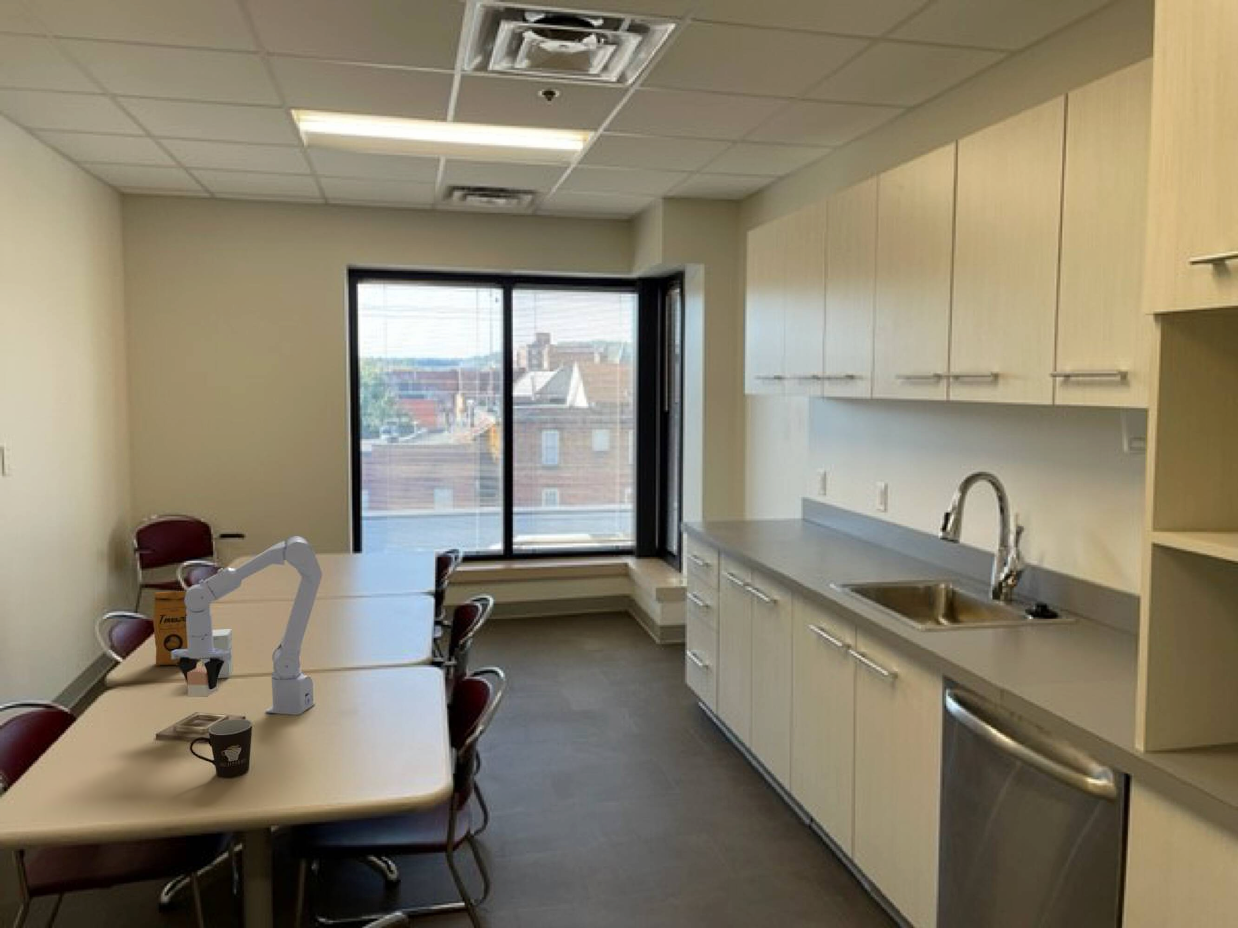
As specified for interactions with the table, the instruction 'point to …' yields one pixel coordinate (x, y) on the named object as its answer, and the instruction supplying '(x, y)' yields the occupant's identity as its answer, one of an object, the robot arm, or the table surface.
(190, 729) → the walnut board
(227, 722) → the coffee mug
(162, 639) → the coffee package
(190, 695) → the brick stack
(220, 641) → the supplement box
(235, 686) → the table surface
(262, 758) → the table surface
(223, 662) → the robot arm
